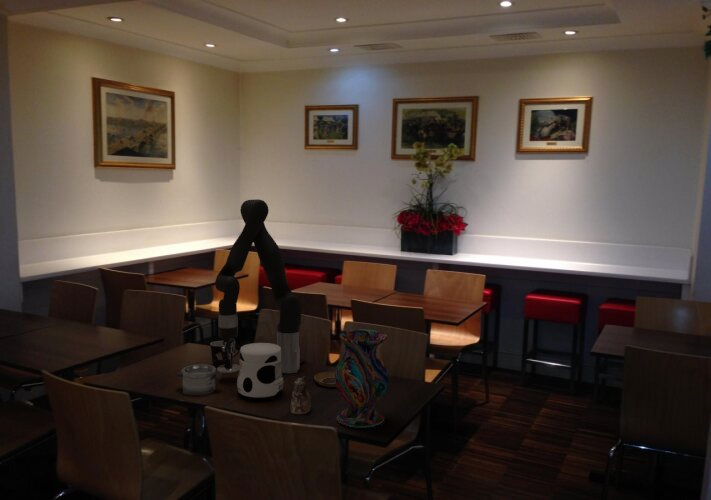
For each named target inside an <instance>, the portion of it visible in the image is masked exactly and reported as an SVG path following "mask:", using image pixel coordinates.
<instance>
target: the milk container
mask: <svg viewBox="0 0 711 500" xmlns="http://www.w3.org/2000/svg"><path fill="white" fill-rule="evenodd" d="M239 350H240V351H239V366H240V370H239V372H238V377H237V379H236V386H237V391H238V393H239V394H240V395H241V396H242V397H245V398H248V399H252V400H261V399H262V400H263V399H270V398H273V397H276V396H278V395H279V394H280V393H282V391H283V387H284V376H283V373H282V372H281V347H280V346H278V345H277V344H276V343H271V342H270V343H269V342H254V343H253V342H252V343H248V344H244V345H242V346H241V347H240V349H239Z"/></svg>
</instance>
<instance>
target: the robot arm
mask: <svg viewBox="0 0 711 500" xmlns="http://www.w3.org/2000/svg"><path fill="white" fill-rule="evenodd" d="M268 214H269V206H268V204H267V202H265V201H264V200H262V199H246V200H245V201H243V202H242V203H241V205H240V216H241V219H242V220H243V222H244V224H245V225H244V226H243V228H242V231H241V232H240V234H239V236H238V237H237V238H236V240H235V241H234V243H233V245H232V246H231V248H230V251H229V253H228V256H227V258H226V262H225V264H224V265H223V266H222V268H221V269H220V271H219V272H218V274H217V275H216V278H215V284H214V286H215V288H216V290H217V291H218V292H221V293H223V298H222V299H220V300H219V302H218V320H217V321H218V325H217V327H218V337H219V338H220V339H222V341H223V342H222V346H223V347H221V348H220V349H221V354H222V359H225V368H226V369H229V368H230V367H231V364H230V359H231V358H232V365H233V364H234V357H232V356H234V355H235V354H236V347H235V346H237V345H236V343H237V339H236V338H237V337H238V336H239V331H238V330H239V326H238V325H239V324H238V321H239V320H238V319H239V318H238V311H237V310H238V307H237V302H238V300H239V294H240V289H241V288H240V287H241V285H240V282H239V279H238V278H237V277H235V276H236V274H237V273H239V272H242V271H243V269H244V266H245V263H246V260H247V258H248V255H249V254H250V250H251V248H252V246H253V245H254V248H255V250H256V253H257V257H258V260H259V262H260V264H261V267H262V270H263V272H264V274H265V276H266V279H267V281H268V284H269V286H270V288H271V292H272V296H273V299H274V303H275V304H274V305H275V307H276V309H277V311H279V323H278V324H277V327H276V329H277V331H276V333H277V334H276V335H277V337H276V345H278V346H280V347H281V372H282V374H294V373H295V374H297V373H298V371H299V370H300V360H301V358H300V353H301V351H300V349H301V348H300V345H299V344H300V327H301V323H302V307H303V306H302V302H301V299H300V298H299V297H298V296H297V295H295V294H294V293H293V292H292V290H291V288H290V285H289V284H288V283H289V282H288V280H287V275H286V266H285V261H284V258H283V255H282V252H281V249H280V247H279V245H278V244H277V243H276V241H275V240H274V237H272V235H271V234H270V233H269V231H268V229H267V228H266V226H265V225H266V224H265V221H266V219H267V218H268Z"/></svg>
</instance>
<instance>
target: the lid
mask: <svg viewBox="0 0 711 500" xmlns="http://www.w3.org/2000/svg"><path fill="white" fill-rule="evenodd" d="M230 364H231V367H230V368H229V369H226V368H225V364H224V365H221V366H219V367H218V368H216V371H217V372H218V373H222V374H230V373H231V374H232V373H237V372H238V371H240V364H236V363H233V365H232V358H231V359H230Z"/></svg>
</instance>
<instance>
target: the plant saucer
mask: <svg viewBox="0 0 711 500" xmlns="http://www.w3.org/2000/svg"><path fill="white" fill-rule="evenodd" d="M335 373H336V371H323V372H318V373H317V374H315V375H314V376H313V377H314V378H313V379H314V380H315V381H316V383H317V384H318V385H320V386H321V385H322V387H324V386H326V387H325V388H331V387H335V388H337V387H336V384H335V383H324V382H322V381H323V380H324V379H326V378H335Z"/></svg>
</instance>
